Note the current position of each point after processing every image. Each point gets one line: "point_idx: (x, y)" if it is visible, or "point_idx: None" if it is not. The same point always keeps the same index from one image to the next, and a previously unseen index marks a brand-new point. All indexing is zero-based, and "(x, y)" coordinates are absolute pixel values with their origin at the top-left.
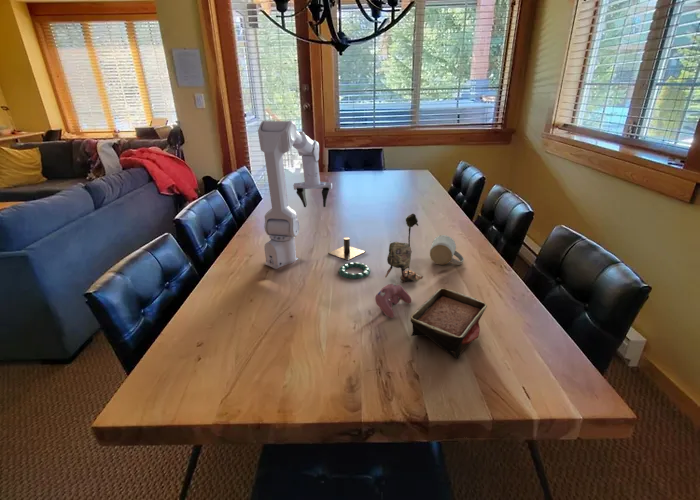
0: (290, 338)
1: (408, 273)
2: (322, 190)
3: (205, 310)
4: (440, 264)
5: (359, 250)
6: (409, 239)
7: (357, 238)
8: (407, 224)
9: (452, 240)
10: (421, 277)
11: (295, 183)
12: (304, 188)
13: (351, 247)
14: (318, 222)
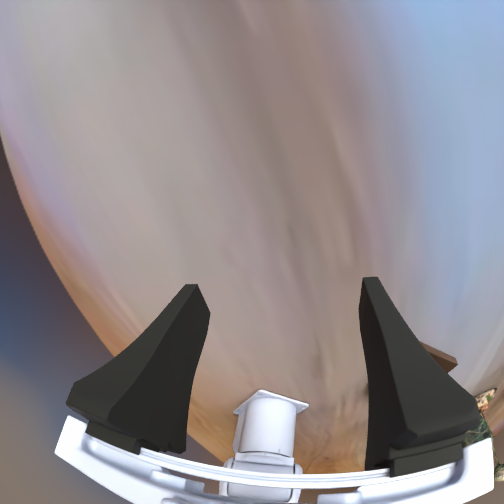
0: (332, 465)
1: (479, 410)
2: (374, 468)
3: (231, 454)
4: None
5: (446, 365)
6: (493, 449)
7: (466, 268)
8: (494, 470)
9: None
10: (492, 398)
11: (65, 457)
12: (164, 459)
13: (433, 357)
14: (252, 74)
